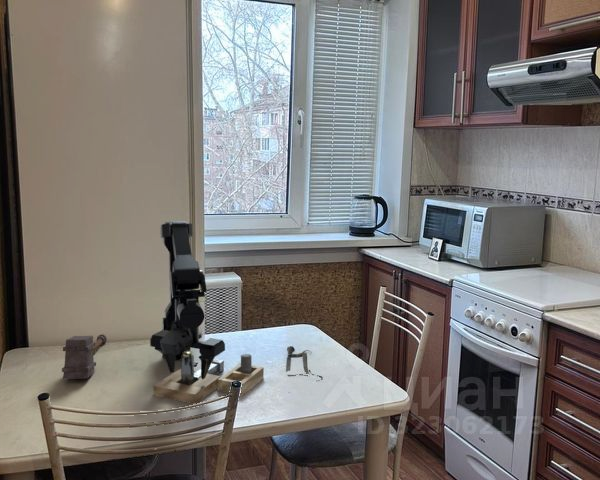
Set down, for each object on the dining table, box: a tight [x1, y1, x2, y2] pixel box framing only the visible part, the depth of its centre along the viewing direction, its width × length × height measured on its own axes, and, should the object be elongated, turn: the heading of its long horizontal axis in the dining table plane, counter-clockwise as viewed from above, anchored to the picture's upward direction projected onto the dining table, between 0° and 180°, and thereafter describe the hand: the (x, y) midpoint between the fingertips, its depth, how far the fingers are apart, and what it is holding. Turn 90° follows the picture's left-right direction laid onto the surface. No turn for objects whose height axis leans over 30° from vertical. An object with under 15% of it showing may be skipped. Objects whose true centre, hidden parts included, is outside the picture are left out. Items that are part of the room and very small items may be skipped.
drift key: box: [194, 358, 225, 383], centre depth 154 cm, size 4×12×3 cm, turn 158°
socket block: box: [152, 368, 221, 404], centre depth 146 cm, size 12×12×2 cm
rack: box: [217, 353, 265, 397], centre depth 150 cm, size 7×12×7 cm, turn 158°
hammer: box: [61, 333, 108, 380], centre depth 165 cm, size 7×33×10 cm, turn 6°
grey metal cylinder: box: [180, 350, 195, 385], centre depth 146 cm, size 3×3×10 cm
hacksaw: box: [285, 345, 324, 382], centre depth 166 cm, size 24×10×2 cm, turn 0°
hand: (187, 375), depth 146 cm, fingers open, 9 cm apart
